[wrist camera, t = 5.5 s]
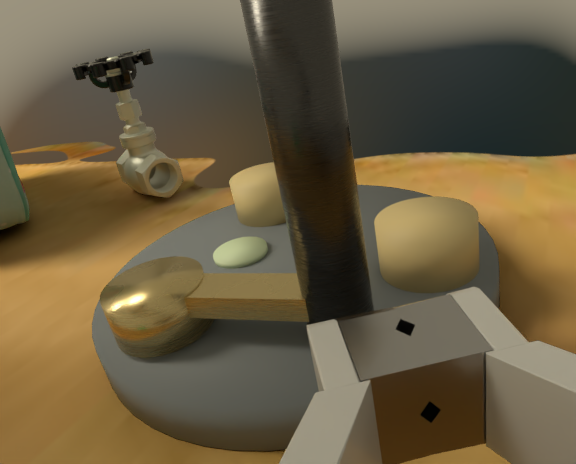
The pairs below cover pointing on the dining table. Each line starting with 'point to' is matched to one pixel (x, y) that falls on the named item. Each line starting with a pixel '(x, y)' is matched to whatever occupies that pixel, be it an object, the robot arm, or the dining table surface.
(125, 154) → the valve
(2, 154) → the lunch box
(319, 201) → the lever
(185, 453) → the dining table surface
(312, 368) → the plate
